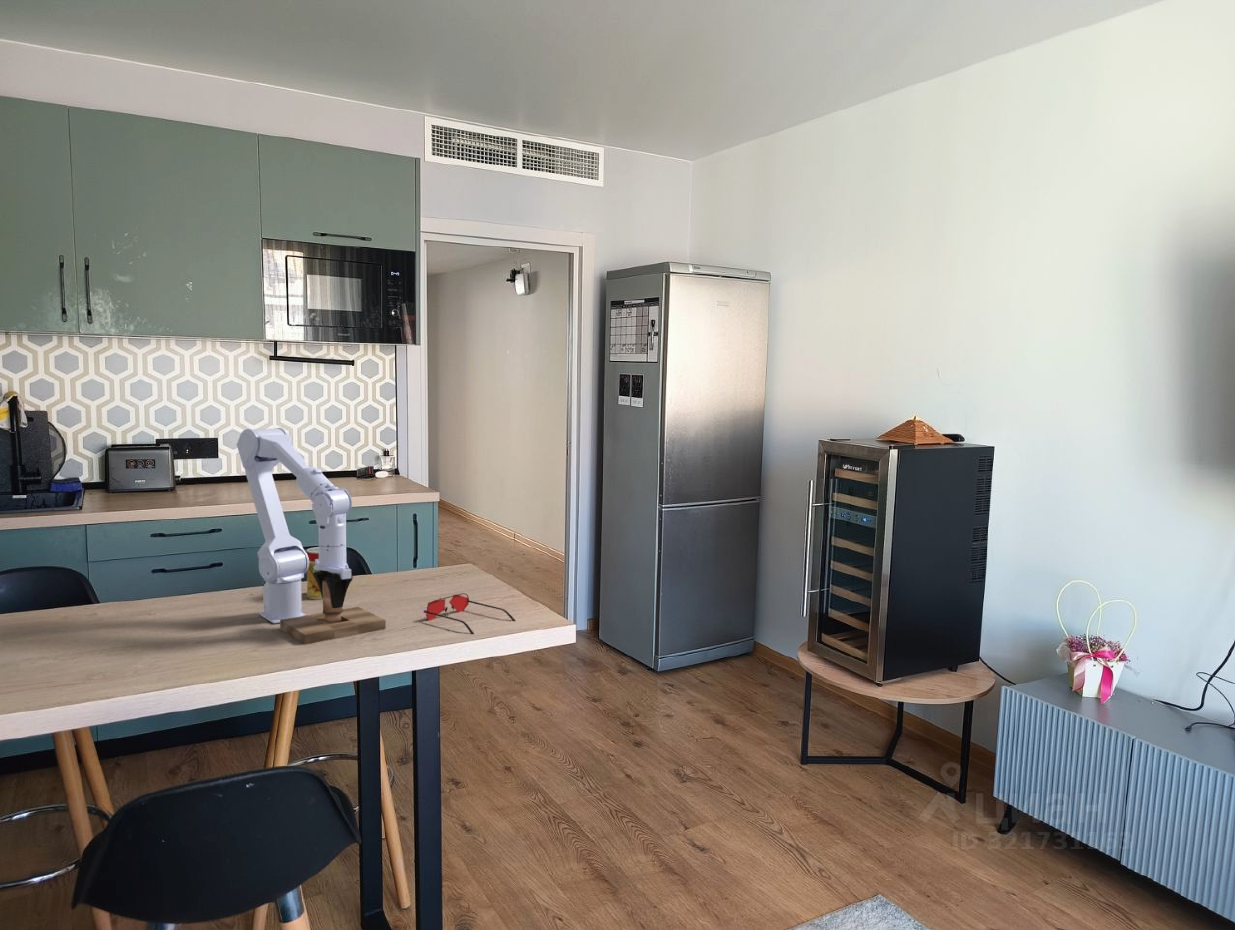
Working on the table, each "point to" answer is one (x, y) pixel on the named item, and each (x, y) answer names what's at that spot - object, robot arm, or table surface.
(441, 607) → the glasses
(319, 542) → the robot arm
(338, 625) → the board
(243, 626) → the table surface
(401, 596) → the table surface
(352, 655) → the table surface
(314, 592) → the canned food
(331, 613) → the peg
